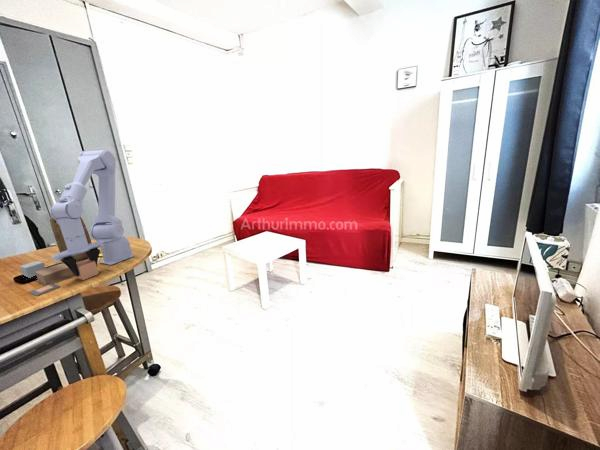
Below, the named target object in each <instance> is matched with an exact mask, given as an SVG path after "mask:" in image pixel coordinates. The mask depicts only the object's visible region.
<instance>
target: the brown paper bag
mask: <svg viewBox="0 0 600 450" xmlns="http://www.w3.org/2000/svg"><path fill="white" fill-rule="evenodd" d="M80 219H81V222H82V226H83V229H84V232H85V235H86V238H87V242H88V244H91V243H93V242H92V239H91V237H90V236H91V235H90V234H89V233H90V232H89V230H88V229H87V227H86V223H85V222H84V220H83V218H82V217H81V216H80ZM49 223H50V226H51V231H52V233H53V237H54V239H55V242H56V245H57V246H56V247H57V249H58V251H59V253H61V252H63V251H66V250H68V249H67V246H66V243H65V240H64V237H63V234H62V231H61V228H60V225H58V224H57V222H56V220H55V219H54V218H53V217H52V216H50V217H49ZM72 257H73V258H74V259H76V262H81V261H84V260H87V259H89V258H88V256H87V254H86V252H83V253H80V254H77V255H74V256H72Z"/></svg>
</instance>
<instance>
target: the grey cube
mask: <svg viewBox="0 0 600 450" xmlns="http://www.w3.org/2000/svg"><path fill="white" fill-rule="evenodd" d="M19 269H20V272H21V274H22V276H23V275H24V276H26V277H28V278H31V277H33V276H35V275H36V274H35V272H36V271H39V270H42V269H46V266H45V263H44V262H42V261H38V260H37V261H32V262H29V263H25V264H22V265H20V266H19Z"/></svg>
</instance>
